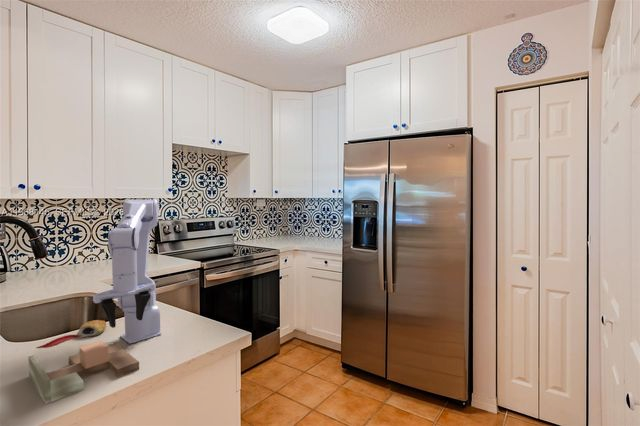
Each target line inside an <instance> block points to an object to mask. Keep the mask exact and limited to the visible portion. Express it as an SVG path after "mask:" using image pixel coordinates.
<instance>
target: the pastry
mask: <svg viewBox="0 0 640 426" xmlns="http://www.w3.org/2000/svg"><path fill="white" fill-rule="evenodd" d="M106 328H107V322H106V321H105V320H104V319H103V320H100V319H95V320H94V319H93V320H90V321H87V322H84V323H83V324H81V325H80V327H79V330H78V332H77V333H76V335H78V336H79V338H88V337H95V336H100V335H102V333H104V331H105V330H106Z"/></svg>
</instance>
